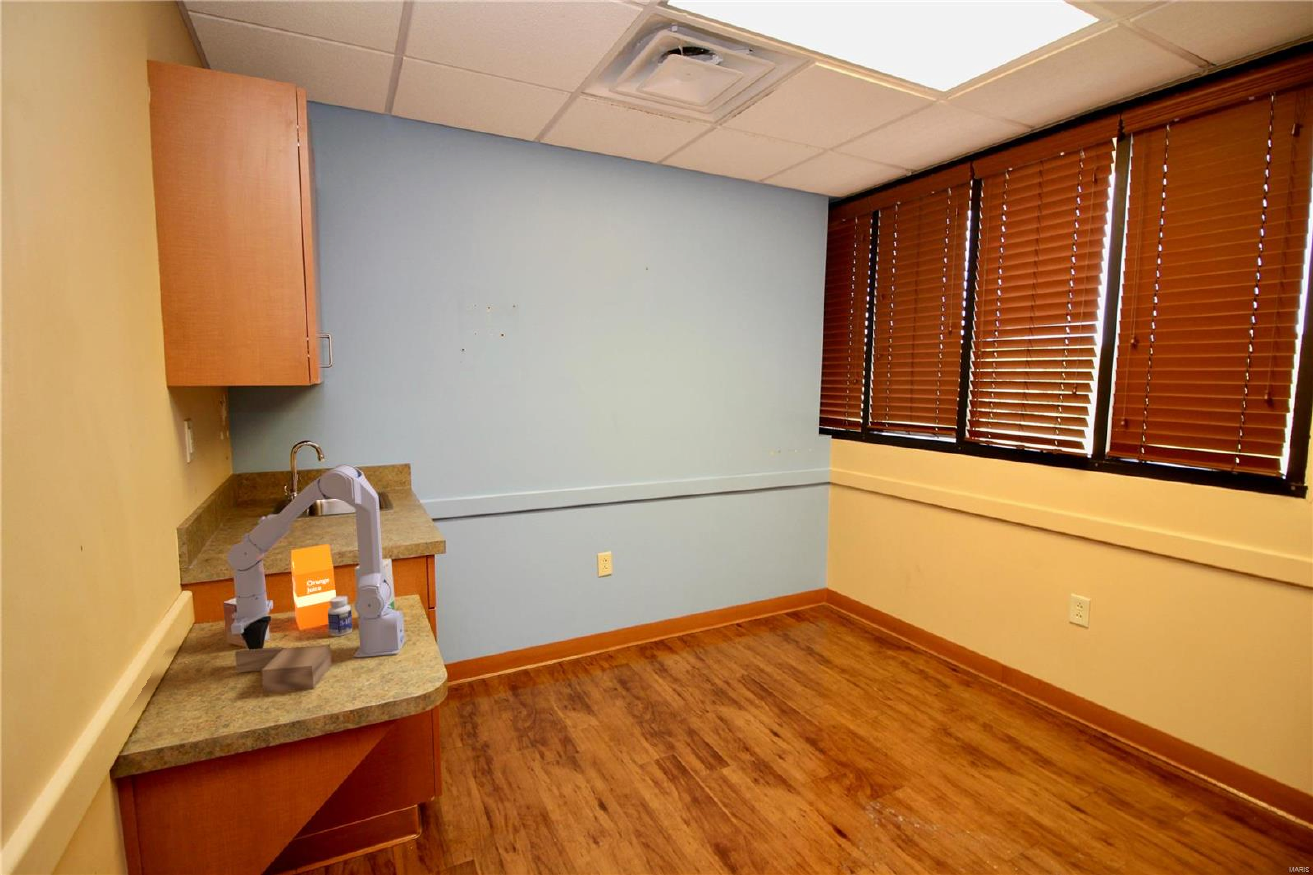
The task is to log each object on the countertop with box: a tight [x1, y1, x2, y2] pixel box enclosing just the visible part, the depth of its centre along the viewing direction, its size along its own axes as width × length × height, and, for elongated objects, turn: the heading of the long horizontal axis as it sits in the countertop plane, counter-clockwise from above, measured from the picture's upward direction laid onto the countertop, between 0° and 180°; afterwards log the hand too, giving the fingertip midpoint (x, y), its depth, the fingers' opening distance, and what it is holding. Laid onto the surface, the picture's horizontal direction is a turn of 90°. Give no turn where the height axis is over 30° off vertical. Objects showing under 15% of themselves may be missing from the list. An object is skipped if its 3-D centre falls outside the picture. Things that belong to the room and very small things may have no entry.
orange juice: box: [290, 544, 337, 631], centre depth 162 cm, size 8×9×20 cm
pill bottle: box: [327, 595, 353, 637], centre depth 155 cm, size 5×5×9 cm
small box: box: [222, 597, 271, 649], centre depth 151 cm, size 8×6×10 cm
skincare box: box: [354, 558, 396, 610], centre depth 162 cm, size 8×7×16 cm
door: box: [234, 646, 284, 673], centre depth 136 cm, size 1×10×5 cm, turn 99°
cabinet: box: [261, 644, 332, 694], centre depth 132 cm, size 10×10×5 cm
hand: (256, 651), depth 140 cm, fingers closed
